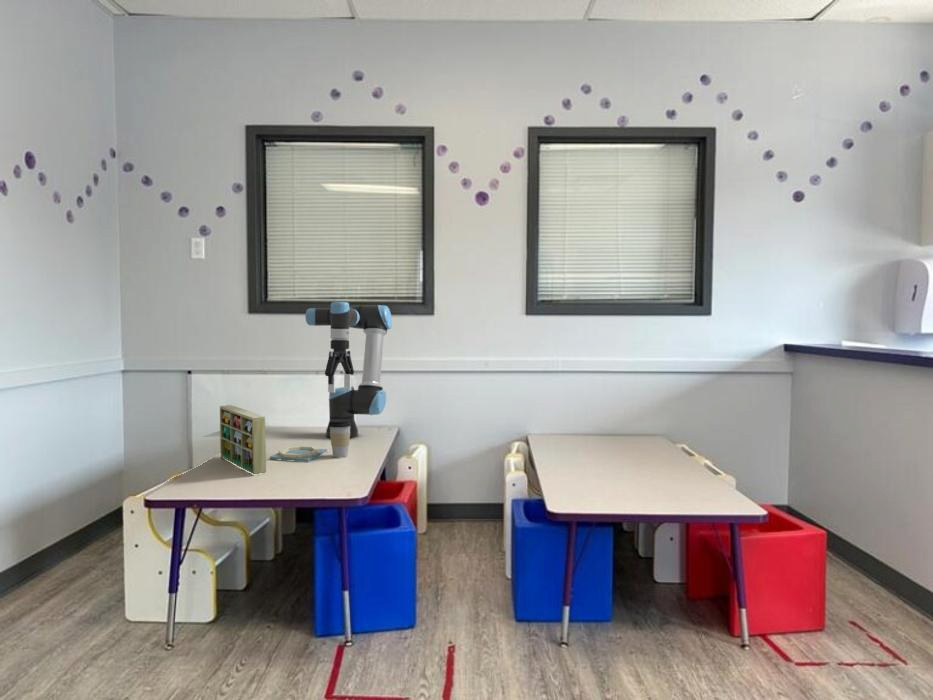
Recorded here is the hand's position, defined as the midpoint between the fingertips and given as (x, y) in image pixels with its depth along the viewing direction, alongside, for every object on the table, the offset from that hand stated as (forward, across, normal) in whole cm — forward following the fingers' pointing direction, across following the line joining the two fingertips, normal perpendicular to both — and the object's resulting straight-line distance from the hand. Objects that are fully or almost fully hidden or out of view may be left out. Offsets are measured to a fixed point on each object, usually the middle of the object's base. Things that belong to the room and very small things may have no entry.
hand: (339, 391), depth 245 cm
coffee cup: (+27, 0, 0) cm, 27 cm away
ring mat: (+27, -4, +16) cm, 32 cm away
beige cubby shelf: (+28, -24, +29) cm, 47 cm away
